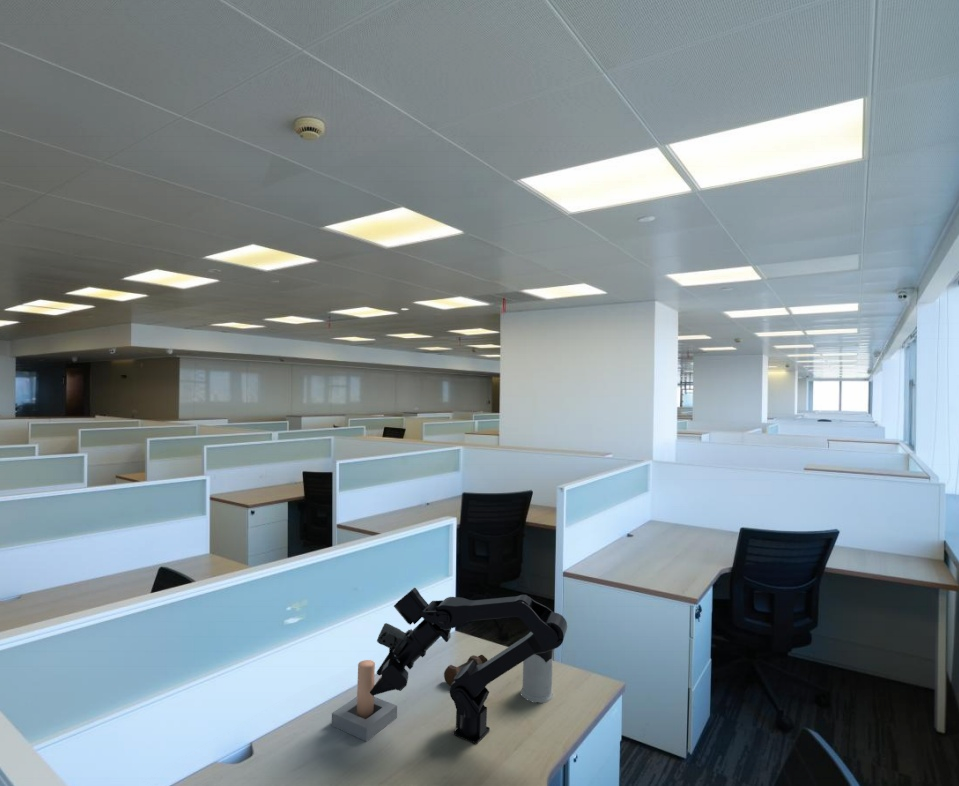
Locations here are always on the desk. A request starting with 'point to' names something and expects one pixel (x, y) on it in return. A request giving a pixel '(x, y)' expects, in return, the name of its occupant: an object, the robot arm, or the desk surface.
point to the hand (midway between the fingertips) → (374, 683)
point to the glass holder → (538, 677)
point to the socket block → (362, 727)
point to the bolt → (452, 670)
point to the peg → (365, 688)
